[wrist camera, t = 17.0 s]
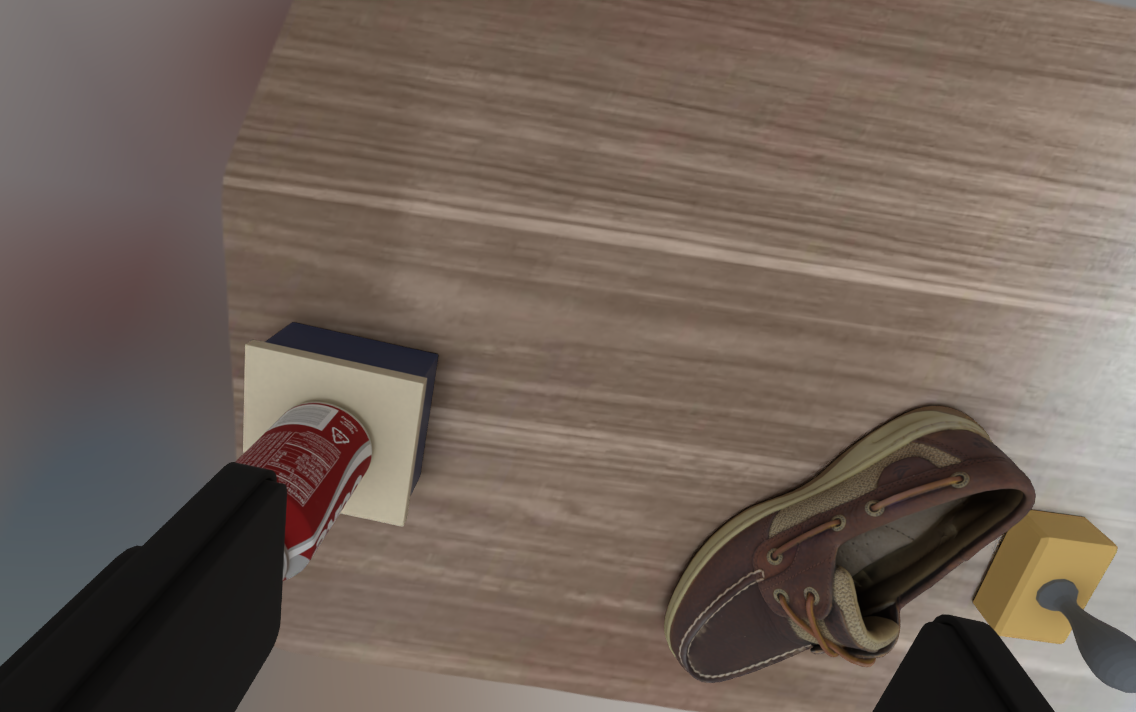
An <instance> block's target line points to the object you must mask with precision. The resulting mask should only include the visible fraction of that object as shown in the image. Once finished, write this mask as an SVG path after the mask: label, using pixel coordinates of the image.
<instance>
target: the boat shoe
mask: <svg viewBox="0 0 1136 712" xmlns="http://www.w3.org/2000/svg"><path fill="white" fill-rule="evenodd" d="M1035 498H1036V494H1035V490H1034V487H1033V485H1032V483H1031V481H1030V479H1029V478H1028V477H1027V476H1026V475H1025V473H1024V472H1023V471H1022V470H1020V469H1019V468H1018V467H1017V466H1016V464H1015V463H1014V462H1013V461H1012V460H1011V459H1010V458H1009V457H1008V456H1006V454H1005V453H1004V452H1003V451H1001V450H1000V449H999V448H998V447H997V446H996V445H994V444H993V442H992V441H991V440H990V438H989V435H988V434H987V433H986V432H985V430H984V429H983V428H982V427H981V426H980V425H979V424H978V423H977V422H975V421H974V420H973V419H972V418H971V417H969V416H968V415H966V414H964V413H962V412H960V411H958V410H955V409H953V408H948V407H944V406H928V407H922V408H918V409H915V410H912V411H910V412H907V413H905V414H903V415H901V416H899V417H897V418H895V419H894V420H892V421H890V422H888V423H886V424H885V425H883V426H882V427H880V428H878V429H877V430H875V431H873V432H872V433H870V434H869V435H867V436H866V437H864V438H863V439H861V440H860V441H859V442H857V443H856V444H854V445H853V446H852V447H851V448H849V449H848V450H847V451H846V452H844V453H843V454H842V455H841V456H840V457H838V458H837V459H836V460H835V461H834V462H833V463H832V464H830V465H829V466H828V467H827V468H826V469H825V470H824V471H823V472H821V473H820V475H819V476H817V477H815V478H814V479H813V480H812V481H810V482H808V483H807V484H805V485H804V486H802V487H800V488H798V489H796V490H794V491H793V492H789V493H787V494H785V495H783V496H779V497H776V498H774V499H770V500H767V501H765V502H763V503H759V504H757V505H754V506H752V507H750V508H748V509H746V510H745V511H743V512H741V513H740V514H738V515H737V516H735V517H734V518H733V519H731V520H730V521H728V522H727V523H726V524H725V525H723V526H722V527H721V528H720V529H719V530H718V531H717V532H715V533H714V534H713V535H712V536H711V537H710V538H709V539H708V540H707V542H706V543H705V544H704V545H703V546H702V547H701V549H700V550H699V551H698V552H697V553H696V555H695V556H694V558H693V559H692V560H691V562H690V563H689V565H688V567H687V569H686V570H685V572H684V574H683V575H682V577H681V579H680V581H679V583H678V585H677V587H676V589H675V591H674V593H673V595H672V597H671V600H670V602H669V605H668V608H667V611H666V615H665V622H664V632H665V637H666V639H667V643H668V645H669V648H670V650H671V652H672V653H673V654H674V656H675V657H676V658H677V660H678V661H679V663H680V664H681V666H682V667H683V668H684V669H685V670H686V671H687V672H689V673H690V674H691V675H692V676H693V677H694V678H695V679H697V680H699V681H701V682H705V683H715V682H722V681H726V680H730V679H733V678H736V677H740V676H743V675H745V674H749V673H751V672H754V671H757V670H760V669H762V668H764V667H767V666H769V665H772V664H775V663H777V662H780V661H782V660H785V659H787V658H789V657H792V656H794V655H796V654H798V653H800V652H803V651H805V650H807V649H810V648H811V652H812V653H813V654H820V653H826V654H827V655H829V656H830V657H837V656H838V655H840V656H841V657H843V658H844V659H846V660H847V661H849V662H851V663H853V664H856V665H859V666H862V667H871V666H872V665H873V664H874V663H875V660H876V658H879V657H883V656H885V655H886V654H888V653H889V652H890V651H891V650H892V649H893V647H894V646H895V644H896V642H897V640H898V637H899V632H900V610H901V608H903V607H904V606H905V605H906V604H907V603H909V602H910V601H911V600H913V599H914V598H916V597H917V596H918V595H920V594H921V593H923V592H924V591H926V590H927V589H929V588H930V587H932V586H933V585H934V584H935V583H937V582H938V581H940V580H941V579H942V578H943V577H944V576H946V575H947V574H948V573H949V572H951V571H952V570H953V569H955V568H956V567H957V566H958V565H960V564H961V563H963V562H964V561H967V560H969V559H970V558H971V557H973V556H974V555H975V554H976V553H977V552H979V551H980V550H981V549H982V548H984V547H985V546H986V545H988V544H989V543H990V542H992V541H994V540H995V539H997V538H998V537H999V536H1001V535H1002V534H1004V533H1005V532H1007V531H1008V530H1010V529H1011V528H1012V527H1013V526H1015V525H1016V524H1017V523H1018V522H1020V521H1021V520H1022V519H1023V518H1024V517H1025V516H1026V515H1027V514H1028V512H1029V511H1030V510H1031V508H1032V507H1033V505H1034V503H1035ZM812 647H813V648H812Z"/></svg>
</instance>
